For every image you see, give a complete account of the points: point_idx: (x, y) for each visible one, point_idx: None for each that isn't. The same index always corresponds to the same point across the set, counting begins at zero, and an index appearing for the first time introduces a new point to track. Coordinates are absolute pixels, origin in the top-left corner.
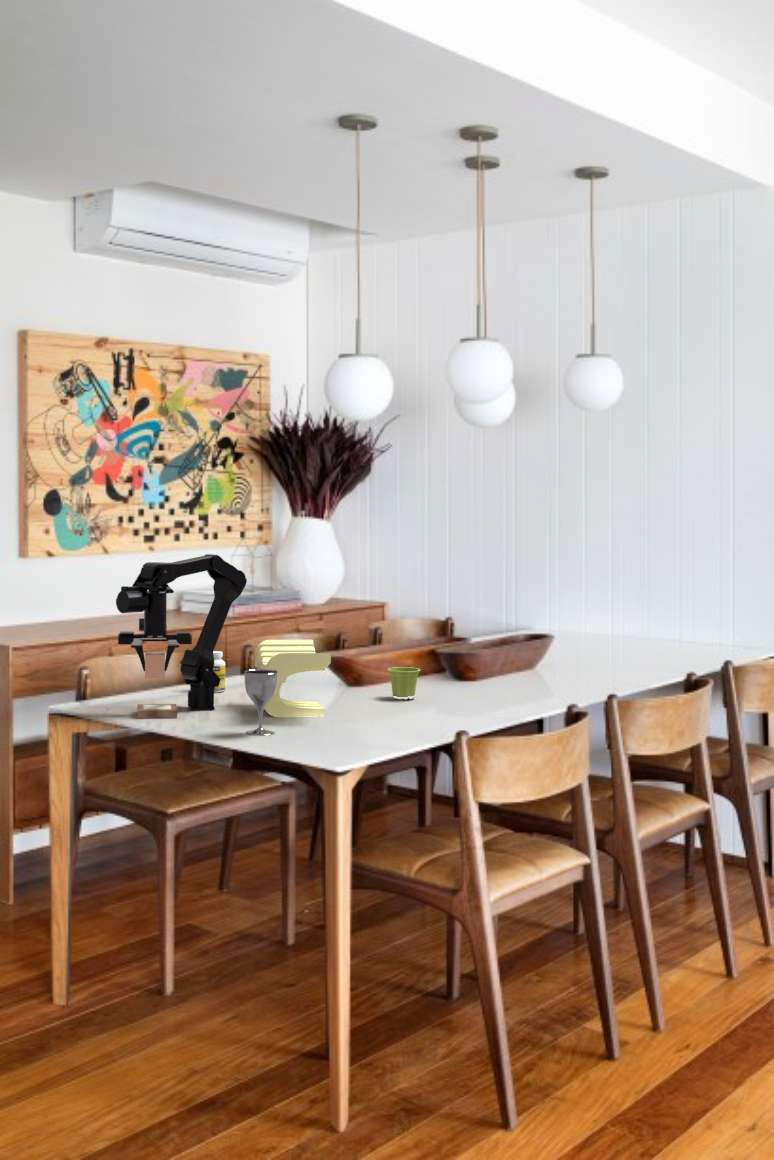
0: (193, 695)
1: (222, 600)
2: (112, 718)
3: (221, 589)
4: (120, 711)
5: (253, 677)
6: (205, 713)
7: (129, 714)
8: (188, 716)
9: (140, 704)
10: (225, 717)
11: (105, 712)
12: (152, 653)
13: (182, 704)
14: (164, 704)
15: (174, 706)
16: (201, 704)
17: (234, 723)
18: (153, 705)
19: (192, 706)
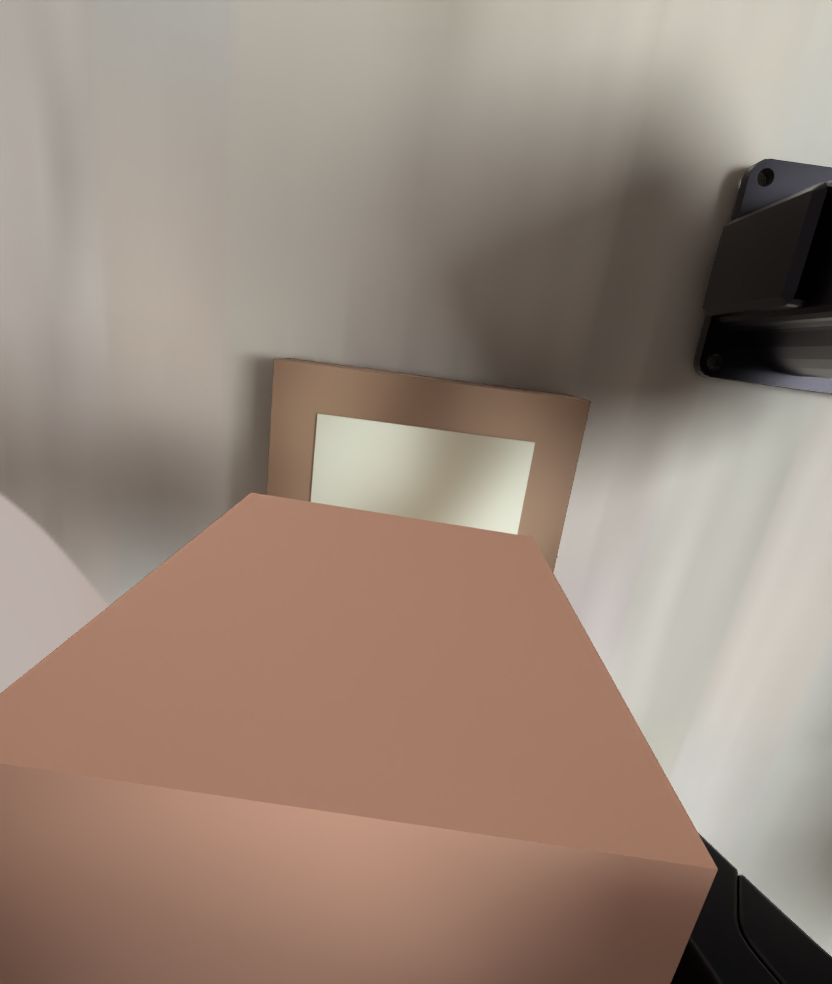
0: (806, 325)
1: None
2: (118, 578)
3: None
4: (166, 303)
5: None
6: (754, 511)
7: (229, 450)
8: (606, 600)
9: (298, 368)
10: (821, 676)
11: (56, 328)
12: (208, 961)
13: (727, 4)
14: (492, 407)
15: (549, 517)
16: (807, 376)
17: (790, 851)
18: (394, 460)
19: (733, 330)
